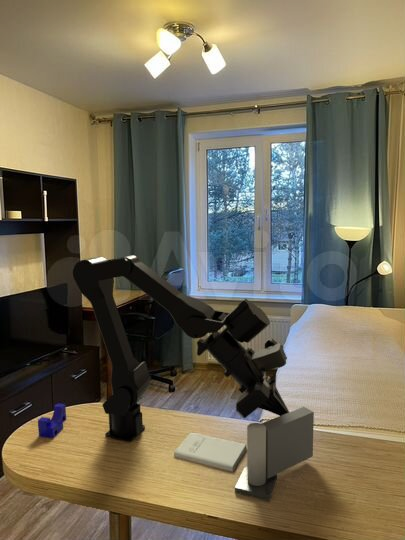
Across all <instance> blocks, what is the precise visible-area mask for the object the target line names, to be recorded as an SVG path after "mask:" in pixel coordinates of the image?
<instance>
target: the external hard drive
mask: <svg viewBox="0 0 405 540" xmlns="http://www.w3.org/2000/svg"><path fill="white" fill-rule="evenodd" d="M246 451H247V443H246V444H245V443H241V442H236V441H233V440H228V439H223V438H218V437H214V436H211V435H206V434H200V433H197V432H196V433H195V432H190V433H189V434H188V435H187V437H185V439H184V440H183V441H182V442H181V443H180V445H178V447H176V449H175V450H174V452H173V457H175V458H180V459H184V460H188V461H191V462H194V463H198V464H202V465H207V466H209V467H214V468H218V469H221V470H226V471H230V472H234V470H235V469H236V467H237V465H238V463H239V462H240V461H241V458H242V457H243V455H244V453H245V452H246Z"/></svg>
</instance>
